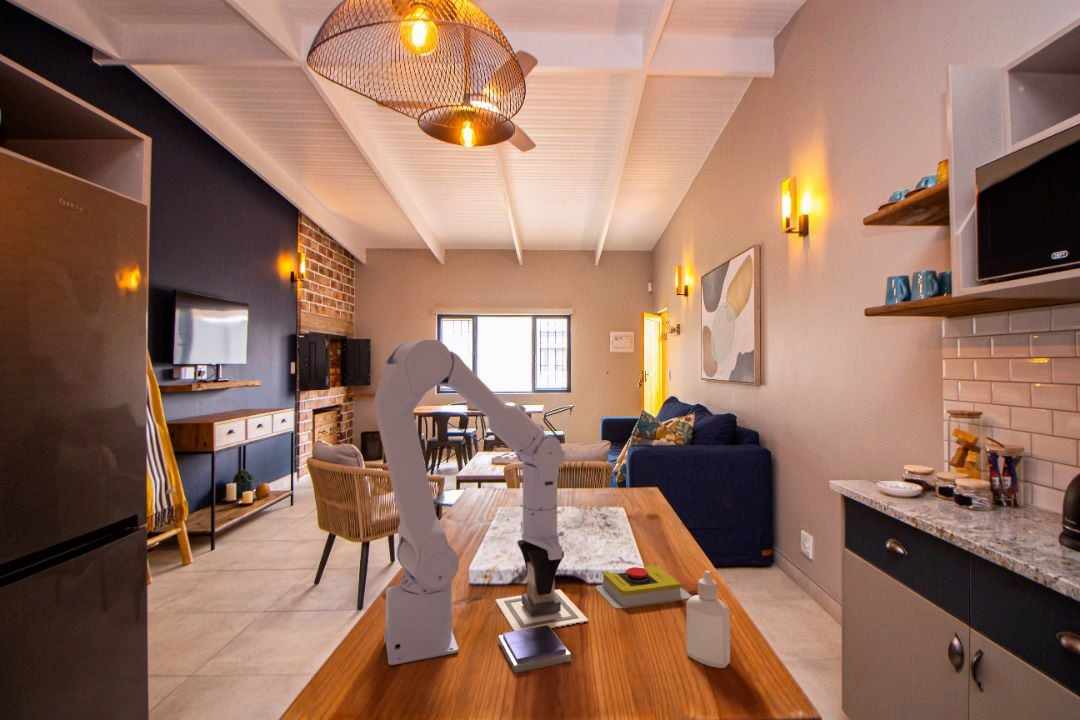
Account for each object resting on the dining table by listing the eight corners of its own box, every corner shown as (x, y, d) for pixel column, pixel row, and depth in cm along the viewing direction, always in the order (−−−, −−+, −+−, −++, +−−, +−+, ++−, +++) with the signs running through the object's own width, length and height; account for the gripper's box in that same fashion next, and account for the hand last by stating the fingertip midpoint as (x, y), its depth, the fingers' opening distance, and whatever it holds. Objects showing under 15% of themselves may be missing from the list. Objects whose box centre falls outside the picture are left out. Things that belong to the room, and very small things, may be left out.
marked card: (516, 635, 77) (516, 632, 77) (495, 601, 88) (495, 598, 88) (588, 621, 81) (588, 619, 81) (559, 590, 92) (559, 588, 92)
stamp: (531, 616, 81) (531, 572, 81) (521, 602, 86) (521, 561, 86) (560, 611, 83) (560, 567, 83) (549, 598, 88) (549, 557, 88)
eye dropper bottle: (709, 674, 67) (708, 582, 67) (682, 652, 72) (681, 566, 72) (735, 666, 69) (734, 577, 69) (706, 645, 74) (706, 562, 74)
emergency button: (593, 565, 94) (666, 556, 98) (593, 589, 94) (666, 579, 98) (614, 586, 85) (693, 575, 89) (615, 612, 85) (693, 601, 89)
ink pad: (514, 673, 67) (514, 661, 67) (498, 642, 75) (498, 632, 75) (570, 661, 70) (570, 650, 70) (549, 632, 78) (549, 622, 78)
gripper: (580, 515, 79) (580, 603, 79) (547, 493, 93) (547, 569, 93) (537, 519, 77) (537, 611, 77) (509, 497, 90) (509, 574, 90)
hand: (540, 588), depth 84 cm, fingers closed on stamp, 3 cm apart
